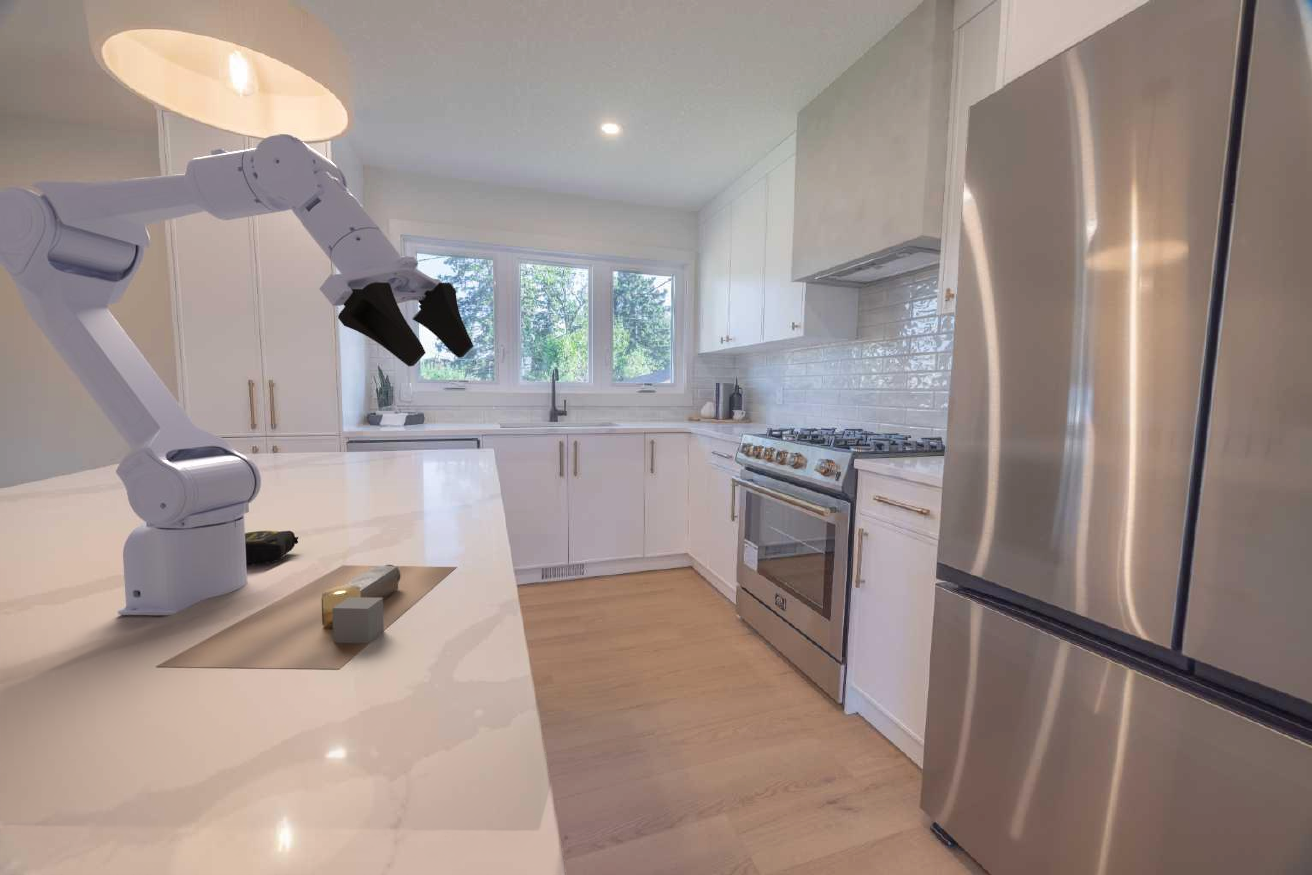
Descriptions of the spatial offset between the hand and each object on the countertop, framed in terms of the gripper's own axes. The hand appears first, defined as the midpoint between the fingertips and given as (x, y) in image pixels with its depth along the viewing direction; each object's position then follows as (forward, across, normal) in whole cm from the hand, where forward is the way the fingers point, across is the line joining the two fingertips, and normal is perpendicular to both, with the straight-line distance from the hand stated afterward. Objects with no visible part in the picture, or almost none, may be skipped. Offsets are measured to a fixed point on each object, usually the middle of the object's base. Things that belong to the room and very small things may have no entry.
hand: (443, 355), depth 53 cm
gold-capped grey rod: (+15, -10, +19) cm, 26 cm away
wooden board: (+15, -10, +22) cm, 28 cm away
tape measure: (+2, +1, +43) cm, 43 cm away
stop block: (+17, -15, +15) cm, 27 cm away
